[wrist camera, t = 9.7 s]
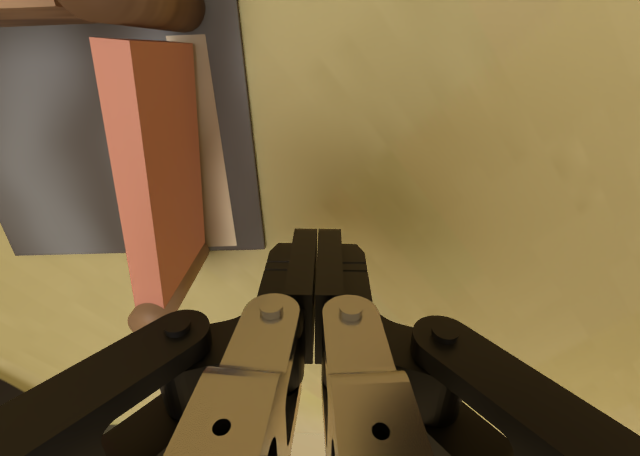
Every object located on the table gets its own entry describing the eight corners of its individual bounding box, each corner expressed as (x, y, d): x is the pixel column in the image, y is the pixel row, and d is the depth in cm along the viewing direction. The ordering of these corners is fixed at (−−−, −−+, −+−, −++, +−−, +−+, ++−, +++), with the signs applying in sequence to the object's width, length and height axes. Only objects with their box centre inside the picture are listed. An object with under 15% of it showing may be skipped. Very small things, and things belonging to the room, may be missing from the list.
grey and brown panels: (230, -67, 15) (157, -157, 9) (265, 246, 22) (239, 334, 15) (-130, -51, 16) (-470, -126, 9) (10, 253, 22) (-125, 341, 16)
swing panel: (161, 40, 16) (73, 35, 11) (197, 43, 16) (129, 40, 11) (182, 260, 21) (130, 337, 16) (209, 262, 22) (168, 340, 16)
